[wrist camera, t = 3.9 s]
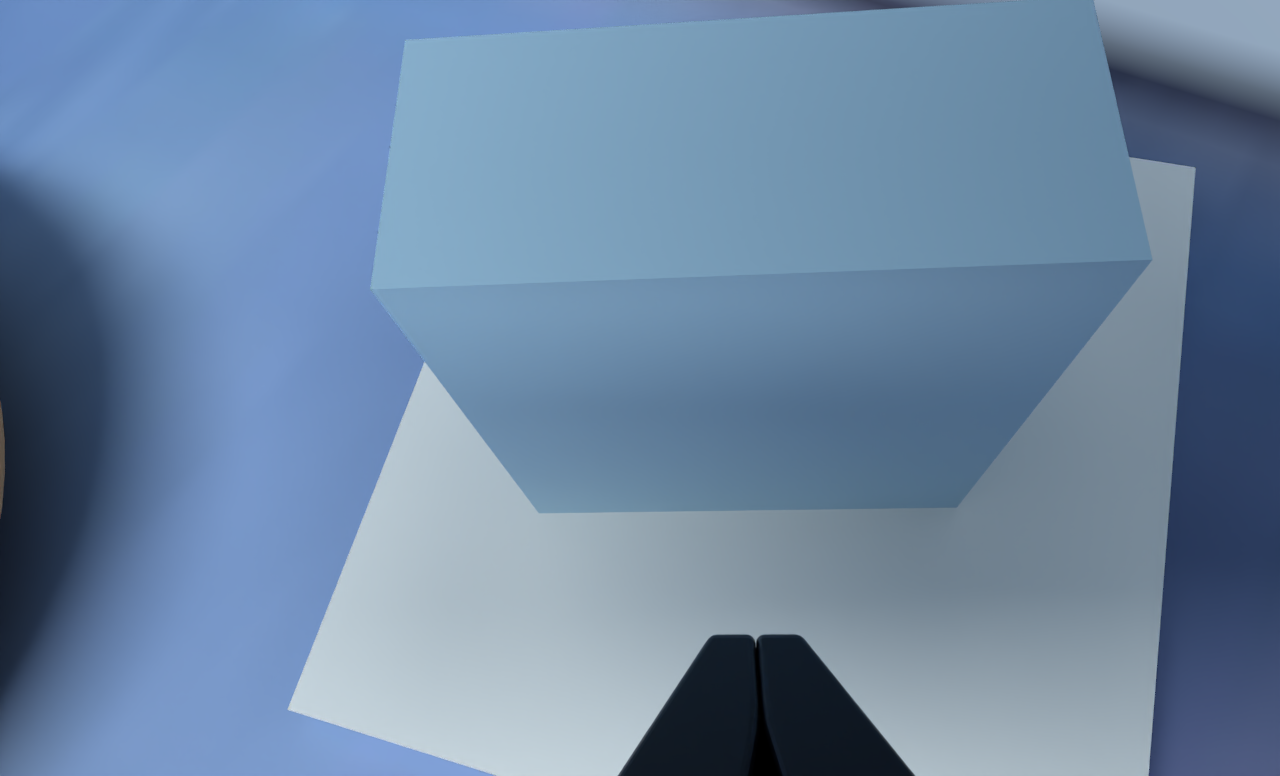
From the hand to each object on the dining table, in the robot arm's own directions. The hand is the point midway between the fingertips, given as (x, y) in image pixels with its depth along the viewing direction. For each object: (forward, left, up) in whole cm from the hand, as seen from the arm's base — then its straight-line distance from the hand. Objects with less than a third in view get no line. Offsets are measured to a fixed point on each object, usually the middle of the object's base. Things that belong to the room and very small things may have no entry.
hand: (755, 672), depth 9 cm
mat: (+5, +1, -7) cm, 9 cm away
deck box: (+5, +1, -6) cm, 8 cm away
